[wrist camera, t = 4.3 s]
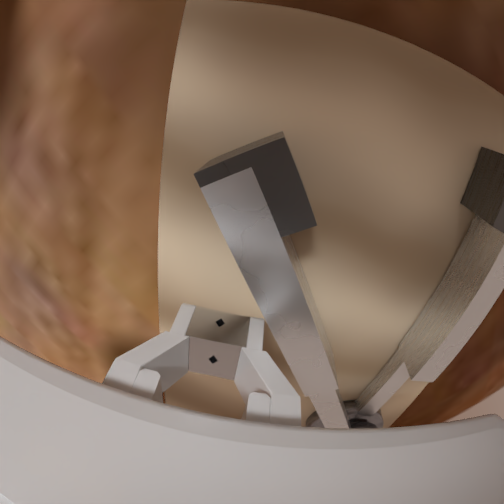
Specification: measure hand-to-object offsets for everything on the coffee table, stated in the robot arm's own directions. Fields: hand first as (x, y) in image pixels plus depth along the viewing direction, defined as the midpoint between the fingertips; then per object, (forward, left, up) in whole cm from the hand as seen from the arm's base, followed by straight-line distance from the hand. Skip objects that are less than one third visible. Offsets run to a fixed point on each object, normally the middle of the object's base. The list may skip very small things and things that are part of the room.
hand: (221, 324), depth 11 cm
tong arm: (+2, +4, -1) cm, 5 cm away
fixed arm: (+1, +9, -1) cm, 9 cm away
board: (+2, +5, -3) cm, 6 cm away
